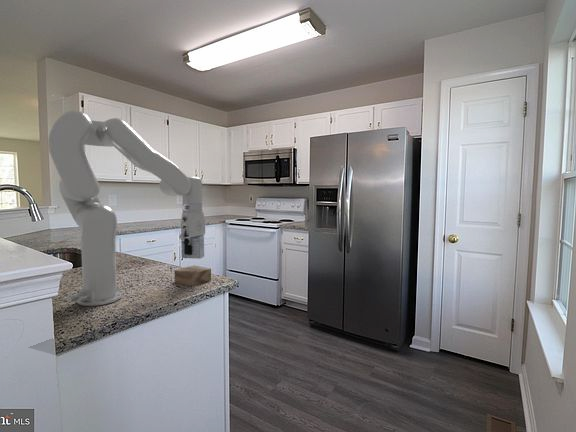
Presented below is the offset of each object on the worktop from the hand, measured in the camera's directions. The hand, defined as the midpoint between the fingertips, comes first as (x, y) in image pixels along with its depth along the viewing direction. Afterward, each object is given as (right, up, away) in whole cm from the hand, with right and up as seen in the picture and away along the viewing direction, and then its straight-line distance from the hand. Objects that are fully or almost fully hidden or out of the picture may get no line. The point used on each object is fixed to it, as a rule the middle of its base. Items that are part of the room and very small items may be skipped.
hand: (193, 252), depth 125 cm
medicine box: (0, -2, 0) cm, 2 cm away
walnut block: (0, -12, +1) cm, 12 cm away
